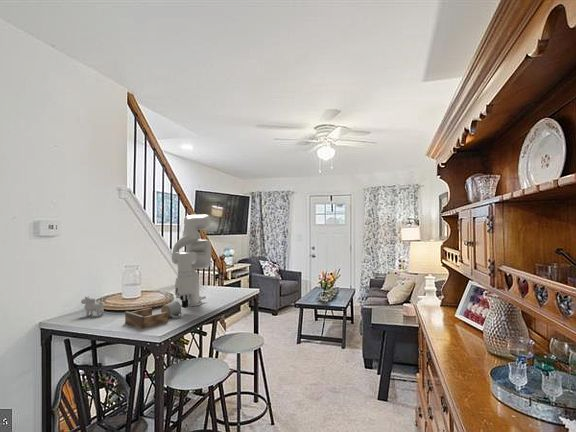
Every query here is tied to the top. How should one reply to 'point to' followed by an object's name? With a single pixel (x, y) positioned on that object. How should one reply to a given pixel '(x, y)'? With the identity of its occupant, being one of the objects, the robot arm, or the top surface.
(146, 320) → the open wooden box
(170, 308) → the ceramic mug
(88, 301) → the grey animal figurine
